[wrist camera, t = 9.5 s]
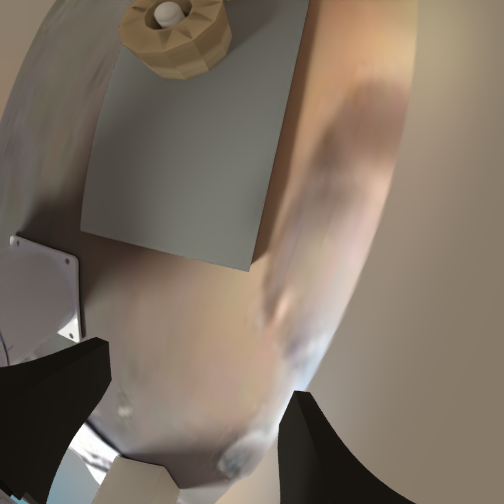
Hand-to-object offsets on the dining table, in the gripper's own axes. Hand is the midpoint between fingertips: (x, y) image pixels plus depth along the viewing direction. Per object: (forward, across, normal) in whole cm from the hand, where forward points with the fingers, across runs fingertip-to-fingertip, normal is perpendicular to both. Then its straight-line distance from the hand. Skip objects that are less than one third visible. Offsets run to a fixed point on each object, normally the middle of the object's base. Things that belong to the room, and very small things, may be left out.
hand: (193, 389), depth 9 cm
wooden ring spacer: (+8, +6, -16) cm, 19 cm away
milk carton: (+10, +6, +29) cm, 31 cm away
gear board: (+9, +5, -16) cm, 19 cm away
